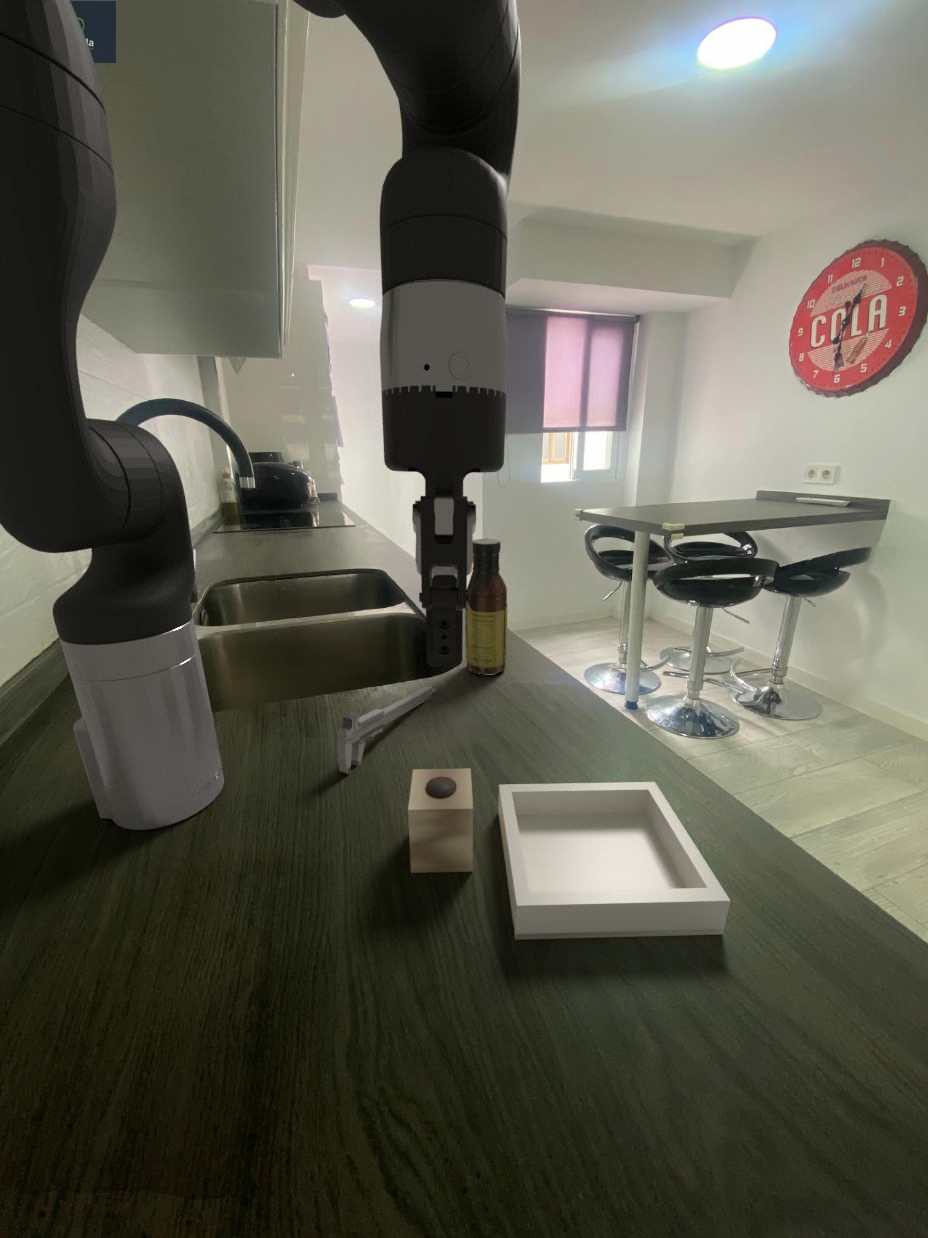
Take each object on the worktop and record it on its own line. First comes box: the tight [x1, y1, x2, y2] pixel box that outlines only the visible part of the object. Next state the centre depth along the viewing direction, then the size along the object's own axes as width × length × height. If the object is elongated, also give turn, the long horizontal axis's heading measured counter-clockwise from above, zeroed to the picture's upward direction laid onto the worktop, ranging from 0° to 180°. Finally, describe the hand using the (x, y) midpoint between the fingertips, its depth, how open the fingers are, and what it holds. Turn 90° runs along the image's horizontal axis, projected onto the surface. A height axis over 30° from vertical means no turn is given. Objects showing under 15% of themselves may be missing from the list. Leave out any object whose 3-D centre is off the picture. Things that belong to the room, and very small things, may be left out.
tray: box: [497, 781, 731, 941], centre depth 37 cm, size 14×12×3 cm
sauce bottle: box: [464, 538, 508, 674], centre depth 69 cm, size 7×6×20 cm
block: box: [407, 767, 474, 874], centre depth 38 cm, size 5×5×6 cm
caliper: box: [336, 685, 437, 775], centre depth 56 cm, size 20×1×6 cm, turn 157°
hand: (444, 640), depth 33 cm, fingers open, 8 cm apart
